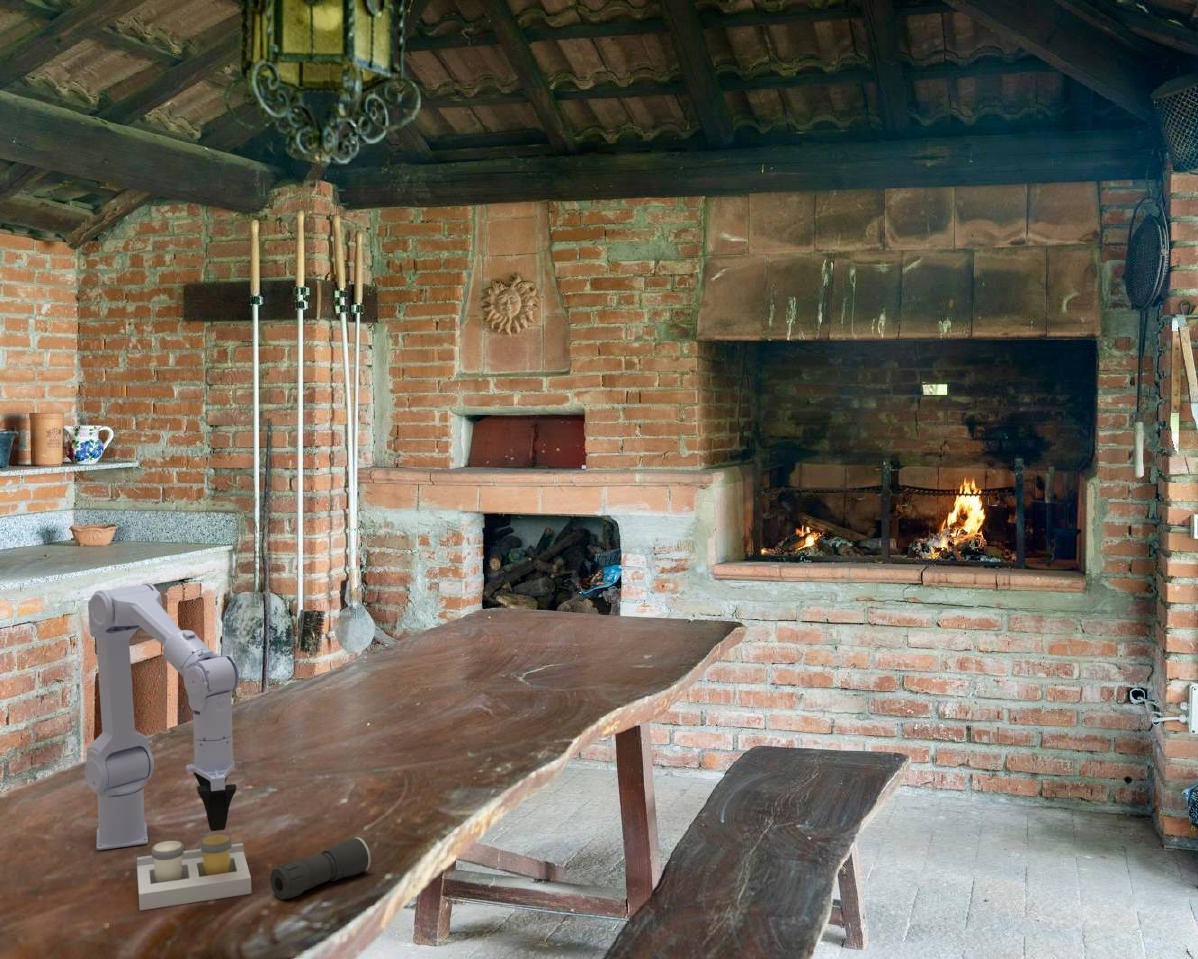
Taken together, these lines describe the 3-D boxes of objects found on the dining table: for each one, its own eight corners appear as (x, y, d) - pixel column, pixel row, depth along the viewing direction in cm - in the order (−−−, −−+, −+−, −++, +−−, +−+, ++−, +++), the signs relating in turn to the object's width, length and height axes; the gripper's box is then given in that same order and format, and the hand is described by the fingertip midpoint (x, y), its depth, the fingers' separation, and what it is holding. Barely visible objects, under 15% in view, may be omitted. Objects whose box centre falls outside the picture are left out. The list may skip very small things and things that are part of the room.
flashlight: (287, 906, 185) (286, 872, 184) (267, 896, 188) (266, 862, 188) (370, 875, 196) (370, 842, 195) (350, 865, 200) (349, 833, 199)
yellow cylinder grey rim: (200, 879, 194) (199, 836, 193) (231, 874, 196) (229, 831, 195) (203, 890, 190) (201, 846, 189) (234, 886, 191) (232, 842, 191)
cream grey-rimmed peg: (153, 885, 191) (151, 842, 191) (184, 881, 193) (183, 838, 192) (152, 898, 187) (151, 853, 186) (185, 893, 189) (183, 849, 188)
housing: (137, 879, 194) (136, 857, 193) (243, 864, 200) (242, 843, 199) (139, 910, 183) (138, 887, 182) (251, 893, 189) (250, 871, 188)
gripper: (182, 725, 196) (185, 808, 197) (188, 752, 182) (191, 841, 183) (229, 720, 198) (231, 803, 199) (238, 747, 185) (240, 835, 186)
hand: (215, 821), depth 192 cm, fingers open, 7 cm apart
